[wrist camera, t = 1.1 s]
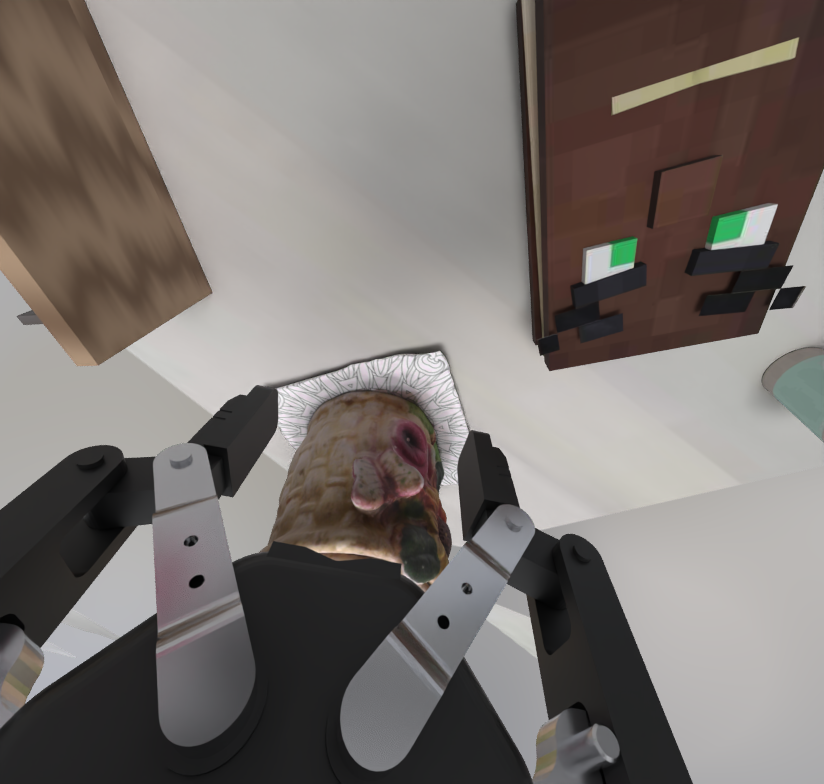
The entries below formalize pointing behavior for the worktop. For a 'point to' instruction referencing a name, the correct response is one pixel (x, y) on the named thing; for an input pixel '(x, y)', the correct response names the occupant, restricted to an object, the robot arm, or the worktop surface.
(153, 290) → the shelf
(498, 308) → the worktop surface
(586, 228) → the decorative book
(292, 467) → the cookie jar
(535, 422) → the worktop surface
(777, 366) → the coffee cup
